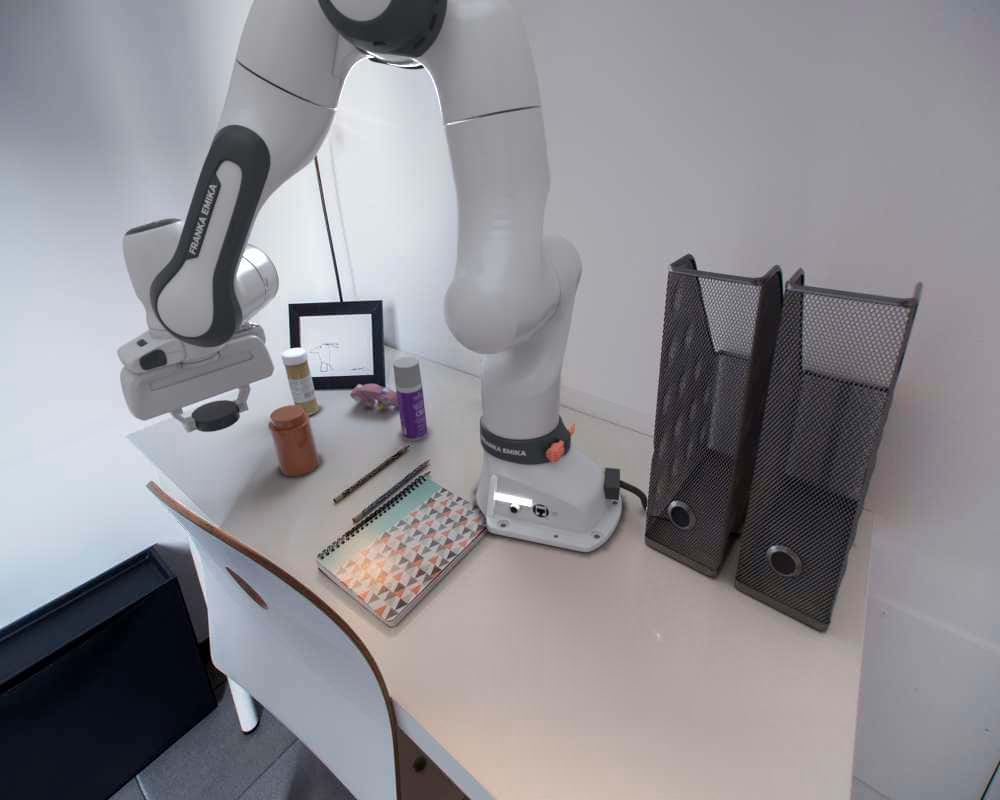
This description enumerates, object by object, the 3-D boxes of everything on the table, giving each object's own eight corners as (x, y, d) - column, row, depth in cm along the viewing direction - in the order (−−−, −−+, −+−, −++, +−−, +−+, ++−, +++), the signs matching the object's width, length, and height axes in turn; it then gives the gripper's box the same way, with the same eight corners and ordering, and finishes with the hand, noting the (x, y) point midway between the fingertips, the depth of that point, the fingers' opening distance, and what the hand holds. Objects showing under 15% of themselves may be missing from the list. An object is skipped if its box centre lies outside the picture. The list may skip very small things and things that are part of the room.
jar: (327, 460, 93) (315, 408, 88) (299, 480, 88) (285, 426, 83) (301, 451, 96) (288, 400, 91) (273, 470, 91) (257, 417, 86)
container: (422, 442, 97) (414, 368, 90) (398, 439, 98) (388, 367, 91) (430, 428, 101) (422, 357, 94) (407, 426, 102) (397, 355, 95)
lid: (193, 417, 84) (189, 407, 83) (236, 406, 87) (233, 396, 86) (196, 436, 79) (192, 425, 78) (242, 423, 82) (239, 413, 81)
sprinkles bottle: (314, 403, 111) (300, 344, 104) (322, 412, 108) (309, 351, 101) (292, 411, 108) (277, 351, 102) (300, 420, 105) (285, 358, 99)
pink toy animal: (356, 412, 110) (343, 392, 105) (365, 394, 113) (352, 374, 107) (399, 418, 108) (388, 398, 102) (407, 400, 110) (396, 380, 105)
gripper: (251, 313, 84) (271, 390, 91) (102, 354, 72) (139, 439, 78) (269, 323, 80) (289, 402, 87) (115, 367, 68) (153, 455, 75)
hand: (217, 420), depth 83 cm, fingers closed on lid, 6 cm apart
